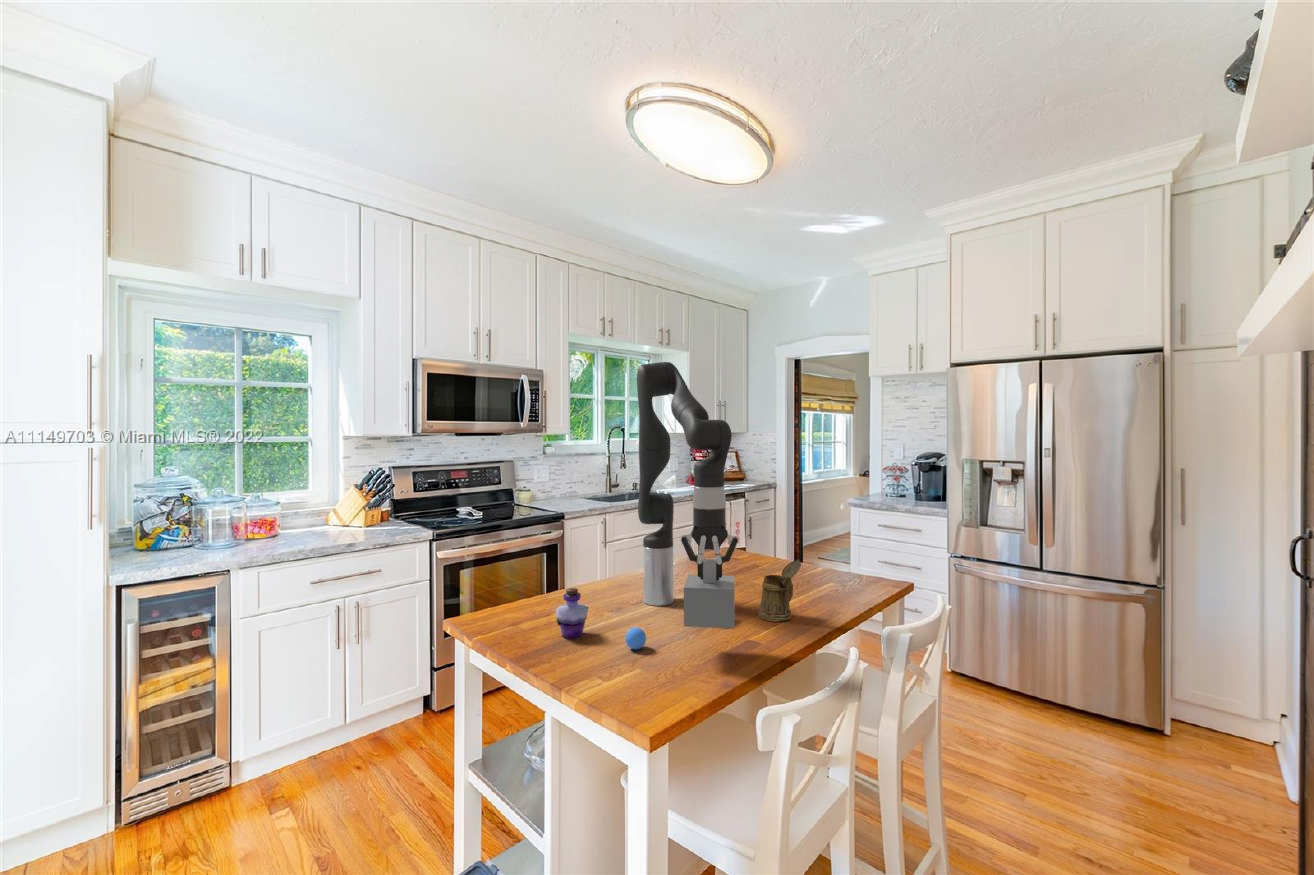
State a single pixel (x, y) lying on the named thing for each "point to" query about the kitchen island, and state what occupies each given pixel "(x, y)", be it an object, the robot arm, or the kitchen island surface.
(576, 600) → the potion bottle
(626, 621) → the kitchen island surface
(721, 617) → the grey block
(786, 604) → the wooden mug
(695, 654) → the kitchen island surface
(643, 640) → the ball
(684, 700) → the kitchen island surface
